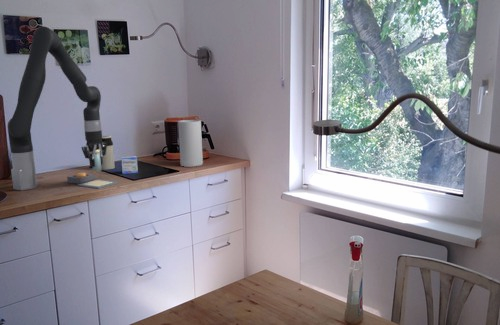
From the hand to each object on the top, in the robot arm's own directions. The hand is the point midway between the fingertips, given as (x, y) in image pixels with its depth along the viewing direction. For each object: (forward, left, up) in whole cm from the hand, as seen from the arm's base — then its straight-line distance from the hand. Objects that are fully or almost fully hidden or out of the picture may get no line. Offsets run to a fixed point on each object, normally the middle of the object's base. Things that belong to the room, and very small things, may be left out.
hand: (96, 165), depth 217 cm
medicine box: (+26, +4, -9) cm, 28 cm away
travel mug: (+29, +24, -9) cm, 39 cm away
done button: (+1, +12, -7) cm, 14 cm away
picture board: (0, 0, -9) cm, 9 cm away
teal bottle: (0, 0, -2) cm, 2 cm away
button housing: (+1, +12, -9) cm, 15 cm away
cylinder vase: (+56, -14, -9) cm, 58 cm away
